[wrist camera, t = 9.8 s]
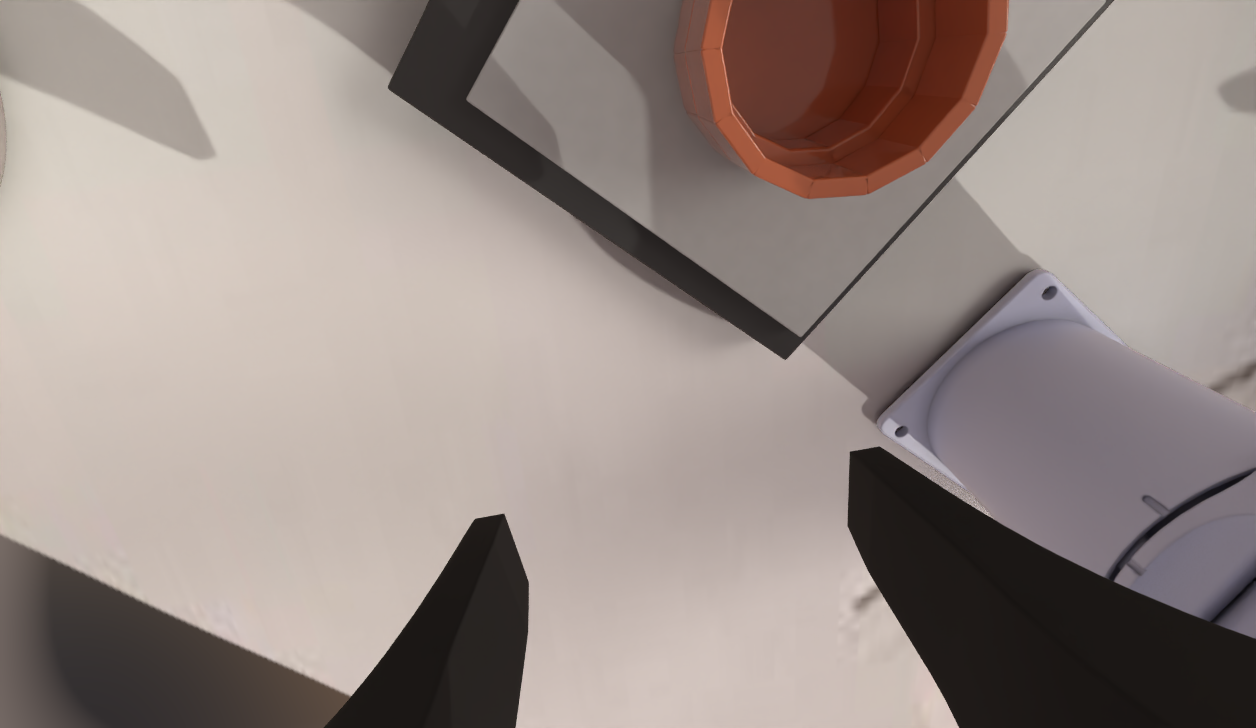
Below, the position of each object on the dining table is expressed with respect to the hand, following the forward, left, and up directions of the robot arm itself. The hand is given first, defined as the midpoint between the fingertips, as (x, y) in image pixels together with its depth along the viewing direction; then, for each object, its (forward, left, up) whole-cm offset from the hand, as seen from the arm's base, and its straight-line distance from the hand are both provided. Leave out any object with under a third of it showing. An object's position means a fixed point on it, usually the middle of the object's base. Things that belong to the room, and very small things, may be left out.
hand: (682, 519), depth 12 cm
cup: (+2, -9, -7) cm, 11 cm away
